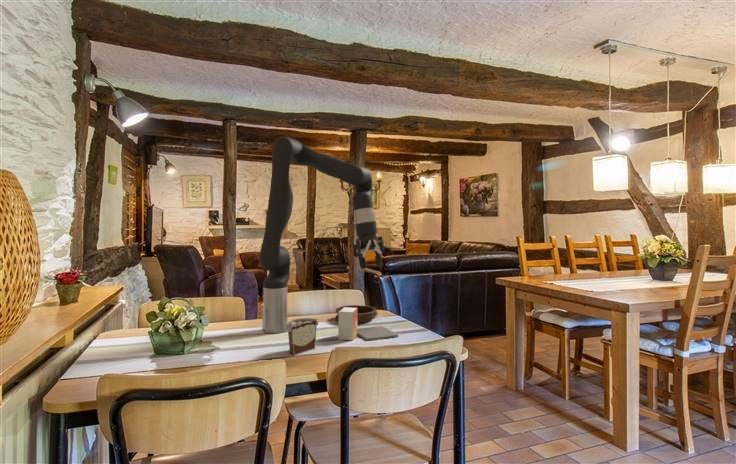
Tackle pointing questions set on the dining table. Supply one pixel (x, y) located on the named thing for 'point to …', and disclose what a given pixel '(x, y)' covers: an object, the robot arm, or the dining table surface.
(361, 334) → the slate board
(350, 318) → the small box
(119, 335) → the dining table surface
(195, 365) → the dining table surface
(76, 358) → the dining table surface
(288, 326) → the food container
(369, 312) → the dish
